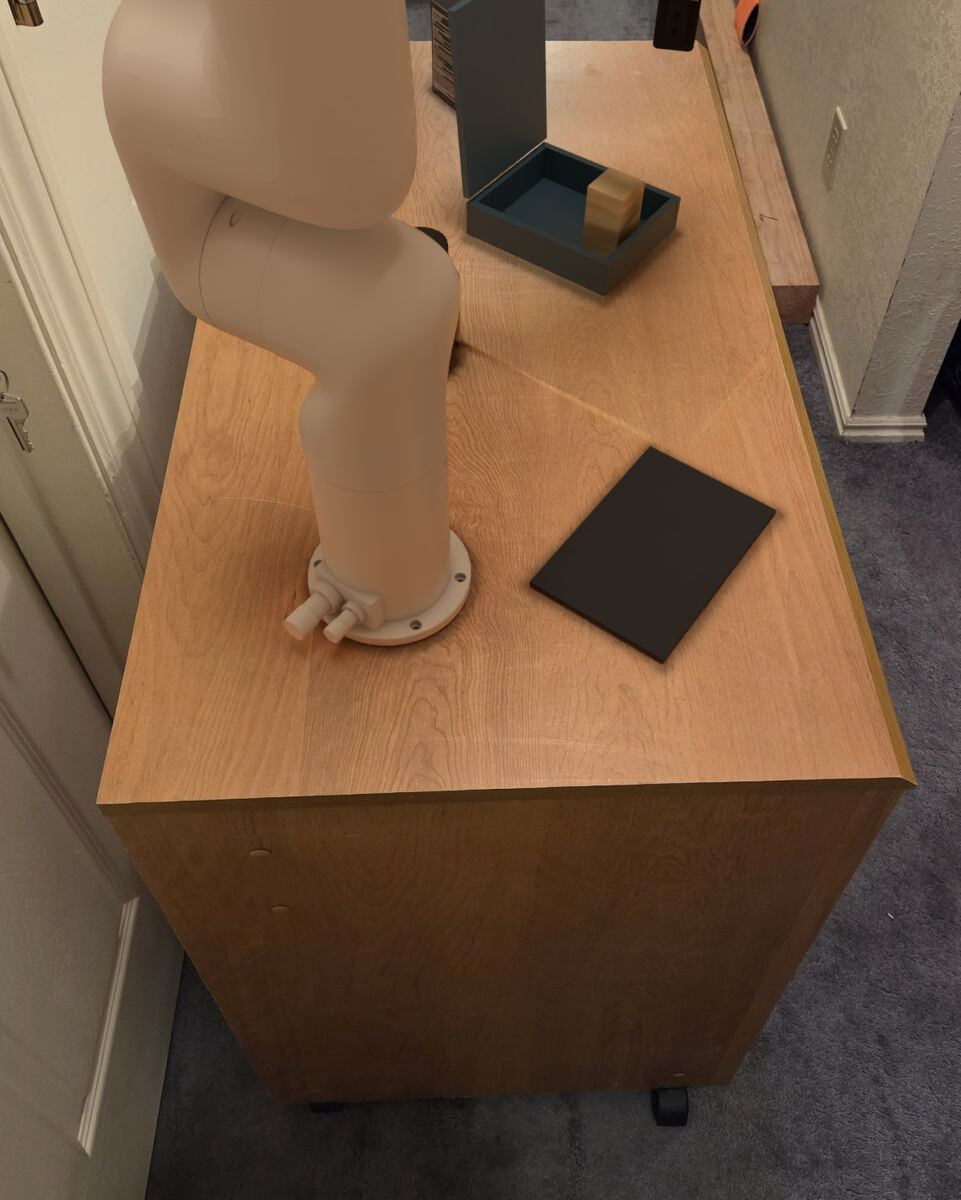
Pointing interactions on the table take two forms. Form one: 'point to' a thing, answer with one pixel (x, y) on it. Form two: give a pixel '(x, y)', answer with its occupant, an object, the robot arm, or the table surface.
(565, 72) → the table surface
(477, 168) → the lunchbox lid
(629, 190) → the block
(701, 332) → the table surface
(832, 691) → the table surface
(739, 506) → the mat
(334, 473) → the robot arm
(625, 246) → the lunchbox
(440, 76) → the small box
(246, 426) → the table surface
